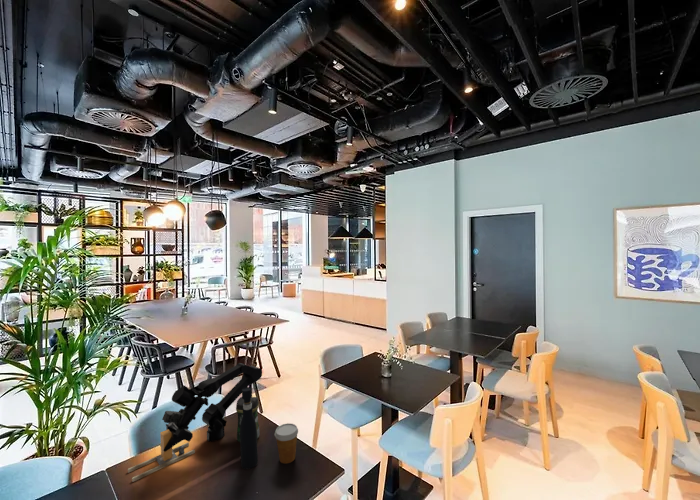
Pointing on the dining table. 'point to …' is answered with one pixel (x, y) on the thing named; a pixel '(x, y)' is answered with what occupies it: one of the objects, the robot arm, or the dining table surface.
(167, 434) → the tan slider block
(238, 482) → the dining table surface
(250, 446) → the wine bottle
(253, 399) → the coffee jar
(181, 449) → the keeper hook
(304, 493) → the dining table surface
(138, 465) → the rail board
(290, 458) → the disposable coffee cup
